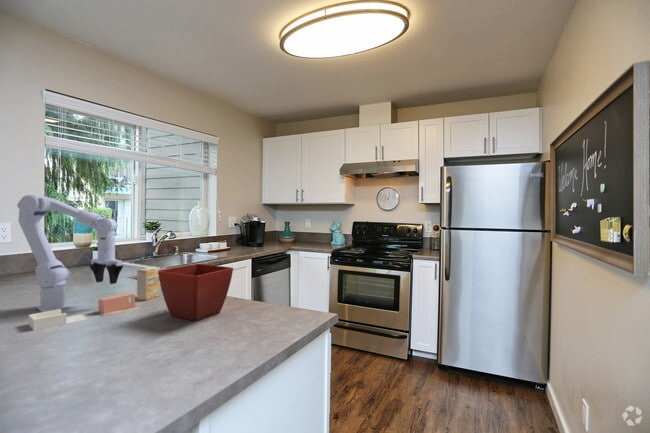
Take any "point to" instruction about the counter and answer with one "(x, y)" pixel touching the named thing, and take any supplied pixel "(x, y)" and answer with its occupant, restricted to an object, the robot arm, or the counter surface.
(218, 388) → the counter surface
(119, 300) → the pink block
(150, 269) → the supplement box
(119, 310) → the cork mat
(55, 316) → the dispenser sleeve
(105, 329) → the counter surface
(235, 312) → the counter surface
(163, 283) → the plant pot
